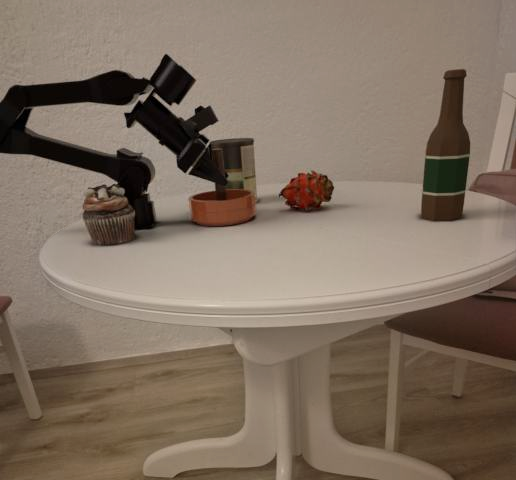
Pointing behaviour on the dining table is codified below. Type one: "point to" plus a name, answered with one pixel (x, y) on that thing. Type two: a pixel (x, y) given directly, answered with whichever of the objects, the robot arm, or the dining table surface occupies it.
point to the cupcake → (108, 215)
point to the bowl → (222, 207)
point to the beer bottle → (447, 155)
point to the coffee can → (238, 162)
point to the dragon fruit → (307, 191)
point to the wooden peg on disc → (218, 161)
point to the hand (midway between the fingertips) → (227, 180)
